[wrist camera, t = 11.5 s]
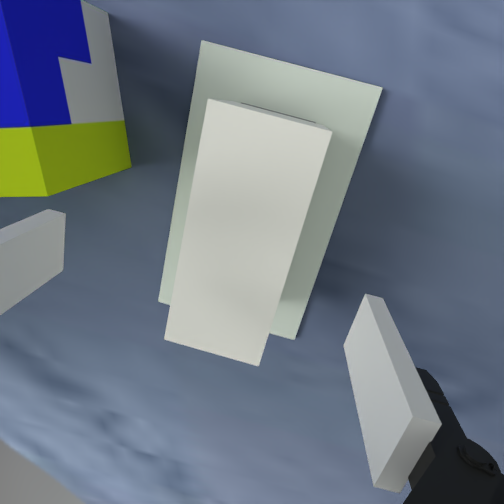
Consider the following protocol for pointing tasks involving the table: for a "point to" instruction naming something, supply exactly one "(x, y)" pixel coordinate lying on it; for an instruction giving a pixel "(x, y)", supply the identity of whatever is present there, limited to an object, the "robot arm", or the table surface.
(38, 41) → the puzzle toy
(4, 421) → the table surface
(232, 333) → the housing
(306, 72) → the plate
